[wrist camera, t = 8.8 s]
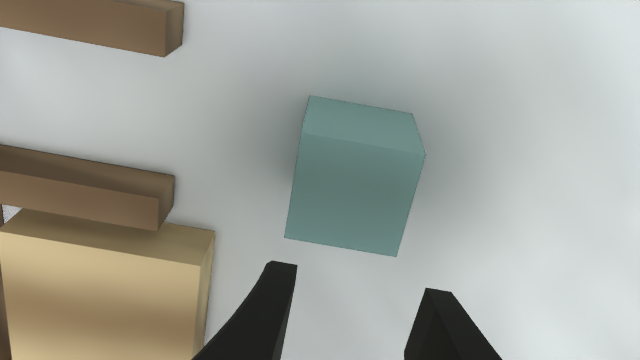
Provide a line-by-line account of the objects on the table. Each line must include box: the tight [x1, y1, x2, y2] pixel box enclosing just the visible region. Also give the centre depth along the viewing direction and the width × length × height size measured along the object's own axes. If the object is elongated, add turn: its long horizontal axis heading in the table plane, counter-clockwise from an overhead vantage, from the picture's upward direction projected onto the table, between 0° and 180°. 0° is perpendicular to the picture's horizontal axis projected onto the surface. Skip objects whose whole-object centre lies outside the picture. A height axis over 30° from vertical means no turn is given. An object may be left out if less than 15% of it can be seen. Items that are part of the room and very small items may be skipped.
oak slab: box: [0, 208, 215, 360], centre depth 23 cm, size 8×8×3 cm
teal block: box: [284, 96, 426, 257], centre depth 19 cm, size 4×4×4 cm
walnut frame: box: [0, 0, 184, 360], centre depth 22 cm, size 20×9×2 cm, turn 170°
